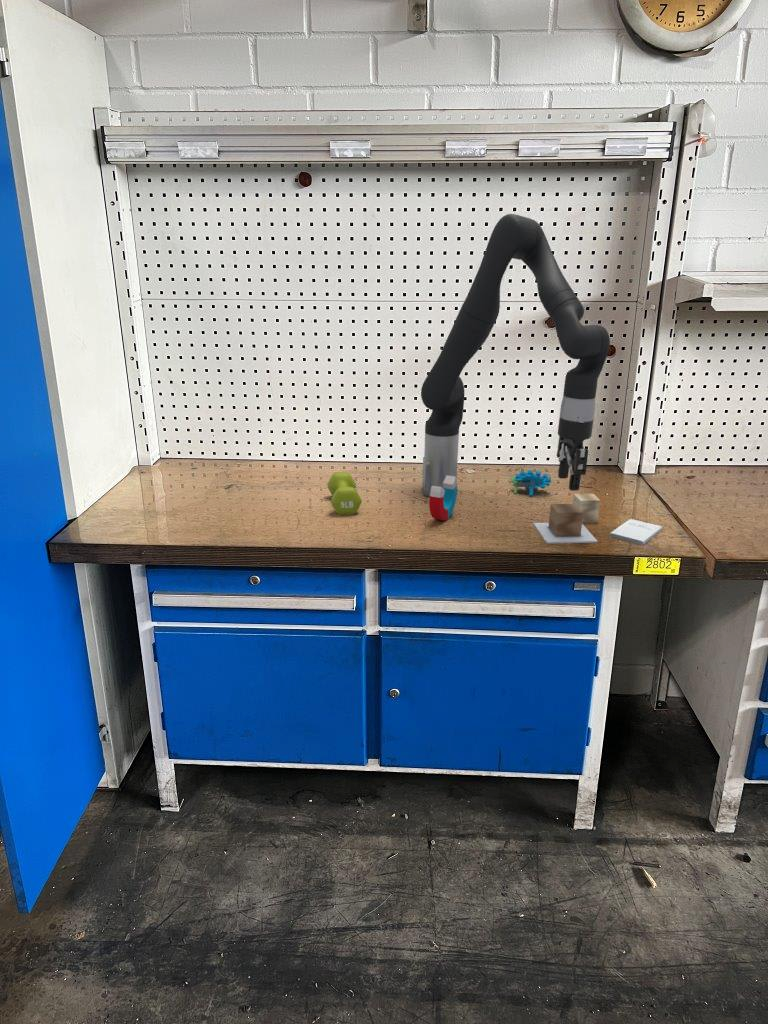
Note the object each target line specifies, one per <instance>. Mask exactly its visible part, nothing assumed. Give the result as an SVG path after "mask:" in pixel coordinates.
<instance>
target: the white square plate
mask: <svg viewBox="0 0 768 1024" xmlns="http://www.w3.org/2000/svg"><path fill="white" fill-rule="evenodd" d="M532 525H533V526H534V528H535V529H536V530H537V532H538V534H540V536H541V537H542V539H543V540H544V542H545V543H546V544H547V545H549V544H590V543H591V544H593V543H595V544H597V543H598V541H599V540H597V539H596V537H594V535H593V534H592V533H591V532H590V530H588V528H587V527H586V526H585V525H584V523H582V528H581V536H557V537H556V536H555V535H554V534H553V532H552V531H551V530H550V528H549V522H533V523H532Z"/></svg>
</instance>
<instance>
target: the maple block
mask: <svg viewBox="0 0 768 1024" xmlns="http://www.w3.org/2000/svg"><path fill="white" fill-rule="evenodd" d="M572 504H576V505H577V506H578V507H579V508H580V510H581V511H582V512H583V519H582V524H590V523H591V524H596V523H598V521H599V515H600V514H599V512H600V507H601V506H600V504H601V500H600V499H599V498H598V497H597V496H596V495H595V494H594V493H574V494H573V501H572Z"/></svg>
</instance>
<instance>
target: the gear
mask: <svg viewBox="0 0 768 1024" xmlns="http://www.w3.org/2000/svg"><path fill="white" fill-rule="evenodd" d="M541 474H542V471H541V470H536V471H535V472H533V470H532V469H527V471H526V472H525V471H523V470H521V471H520V472H519V473H515V477H514V476H511V477H510V483H512V484H513V485H512V486H513V488H514V489H513V490H514V491H513V494H514V495H515V494H517V492H518V488H525V489H529V493H528V496H529V497H533V496H534V490H538V489H539V488H541V489H545V488H546V487H550V484H551V482H552V478H551V477H549V474H547V473H543V474H542V475H541Z"/></svg>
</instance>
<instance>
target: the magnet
mask: <svg viewBox="0 0 768 1024" xmlns="http://www.w3.org/2000/svg"><path fill="white" fill-rule="evenodd" d="M443 486H444V489H443V488H442V487H437V486H431V491H430V496H429V500H428V501H429V503H428V504H429V505H428V506H429V507H428V508H429V512H430V517H431V518H433V520H439V521H443V522H444V521H447V520H448V519H449V518H450V517H451V516H452V513H453V511H454V508H455V506H456V502H457V496H458V495H457V494H458V477H457V478H456V477H454V476H448V475H447V476H446V478H445V480H444V482H443Z"/></svg>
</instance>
